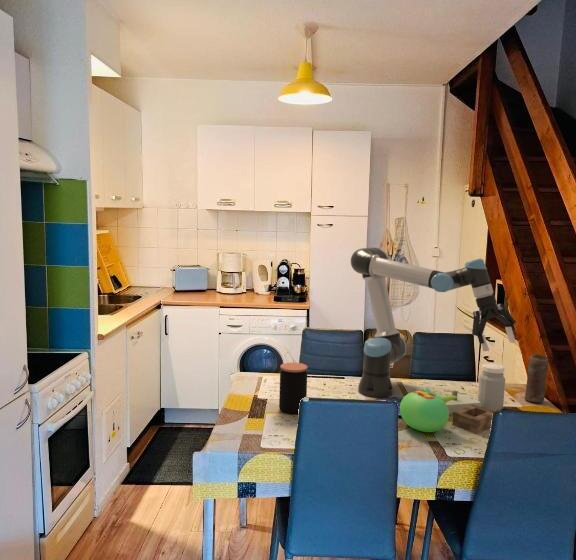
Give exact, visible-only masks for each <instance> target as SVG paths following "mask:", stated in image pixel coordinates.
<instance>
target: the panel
mask: <svg viewBox="0 0 576 560" xmlns="http://www.w3.org/2000/svg"><path fill="white" fill-rule="evenodd" d="M451 396H456V397H457V398H456V399H454V400H451V401H448V402H446V405H447V407H448V410H449V416H451V415H453V412H454V411H457V410H460V409H462V408H465V407H467V406H470V405H473V404H474V405H477V406H480V407H481V402H479V401H478V399H477V398H475V397H472V396H470V395H469V394H467V393H466V394H465V393H464V394H459V393H458V390H452V394H451Z"/></svg>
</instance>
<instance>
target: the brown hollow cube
mask: <svg viewBox="0 0 576 560" xmlns="http://www.w3.org/2000/svg"><path fill="white" fill-rule="evenodd" d="M493 412H494V411H492V410H489V409H486V408H483V407H480V406H477V405H474V404H473V405H470V406H467V407H465V408H462V409H460V410H457V411H454V412H453V414H452V419H451V420H452V421H451V426H454V427H456V428H459V429H463V430H465V431H468V432H470V433H472V434H476V435H478V434H479V433H483V432H484V431H487V430H488V429H491V428H490V426H491V420H492V414H493Z"/></svg>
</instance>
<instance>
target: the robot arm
mask: <svg viewBox="0 0 576 560" xmlns="http://www.w3.org/2000/svg"><path fill="white" fill-rule="evenodd" d="M350 266H351V268H352V269H353V271H354V272H356V273H358V274H361V275H362V279H363V280H364V281H365V282H366V285H367V289H368V293H369V299H370V304H371V308H372V314H373V318H374V322H375V329H376V332H375V334H374V337H371V338H369V339H366V340H365V342H364V345H363V346H364V347H363V365H362V366H363V367H362V375H361V378H360V381H359V383H358V387H357V388H358V389H357V391H358V393H359V394H361V395H363V396H367V397H369V398H370V397H371V398H387V397H390V396H392V395H393V394H394V393H393V392H394V387H393V385H392V381H391V380H392V379H391V376H390V375H391V372H390V371H391V365H392V364H394V363H397V362H399V361H400V360H401V359H403V357H404V356H405V355H406V353H407V344H406V341H405V340H404V339H403V338H402V337H401V333H400V331H399V330H398V329H396V324H395V319H394V315H393V311H392V306H391V301H390V296H389V291H388V286H387V285H388V284H387V281H386V278H387V279H389V278H390V279H392V280H397V281H401V282H405V283H409V284H413V285H417V286H421V287H425V288H428V289H432V290H434V291H435V292H437V293H446V292H449V291H452V290H453V291H454V290H456V289H460V288H463V287H466V286H471V289H472V292H473V296H474V298H475V303H476V306H477V308H478V310H474V311H473V312H472V315H473V321H472V322H473V323H472V330H471V334H472V336H475V337H477V340H478V342H479V344H480V346H481V349H482V351H483V352H489V351H490V348H489V345H488V342H487V338H486V335H485V334H484V331H485V329H486V325H487V322H488V320H490V319H492V318H495V319H497V320H498V321H499V322H501V323H502V324H503V325H504V326H505V327H504V328H505V331H506V336H507V337H508V342H509V343H510V344H513V343H516V339H515V331H514V328H513V327H514V326H515V324H516V320H515V319H514V318H513V316H512V315H511V314H510V313H509V312H508V310H507V309H506V308H505V305H504V304H503V303H497V300H496V299H497V298H496V295H495V294H494V289H493V286H492V282H491V279H490V277H489V273H488V267H486V263H485V260H484V259H483V258H477V259H472V260H469V261H465V263H464V267H463V268H459V269H455V270H451V271H445V272H443V271H440V270H435V269H432V268H431V269H430V268H426V267H422V266H417V265H413V264H408V263H405V262H401V261H395V260H391V259H389V256H388V254H387V252H386V251H385V250H384V249H381V248H378V247H366V248H365V247H363V248H358V249H357V250H355V251H354V252H353V253H352V255H351V257H350Z"/></svg>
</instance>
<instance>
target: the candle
mask: <svg viewBox="0 0 576 560" xmlns="http://www.w3.org/2000/svg"><path fill="white" fill-rule="evenodd" d="M548 365H549V358H548V357H547V356H545V355H541V354H534V353H533V354H531V355H529V360H528V369H527V377H526V386H525V394H524V400H526V401H527V402H531V403H535V404H540V403H542V402H544V401H545V396H546V395H545V393H546V384H547V375H548V374H547V373H548Z"/></svg>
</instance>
